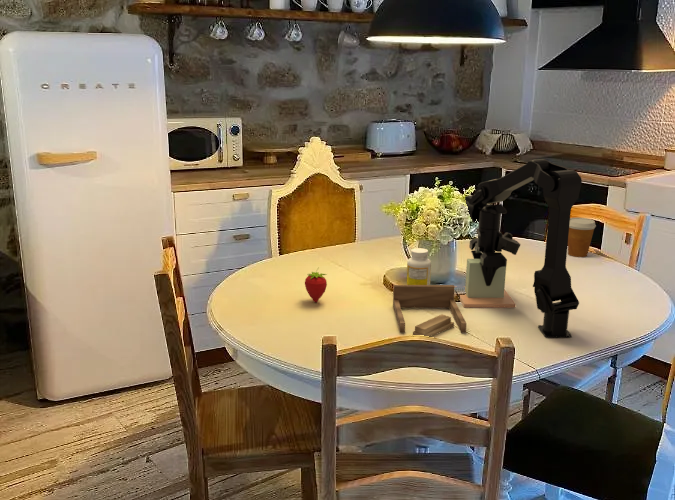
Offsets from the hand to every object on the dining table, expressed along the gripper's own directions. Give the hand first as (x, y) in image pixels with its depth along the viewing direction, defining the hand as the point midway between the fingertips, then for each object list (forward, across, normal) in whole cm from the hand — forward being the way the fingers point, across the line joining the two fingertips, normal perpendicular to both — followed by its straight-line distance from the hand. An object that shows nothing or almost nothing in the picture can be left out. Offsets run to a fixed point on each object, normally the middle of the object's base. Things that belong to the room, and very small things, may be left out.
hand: (485, 281), depth 187 cm
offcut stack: (+5, -23, +18) cm, 30 cm away
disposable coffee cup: (+5, +43, -42) cm, 60 cm away
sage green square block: (+4, 0, 0) cm, 4 cm away
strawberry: (+5, -3, +47) cm, 47 cm away
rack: (+5, -14, +18) cm, 23 cm away
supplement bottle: (+5, +4, +18) cm, 19 cm away
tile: (+5, 0, 0) cm, 5 cm away
